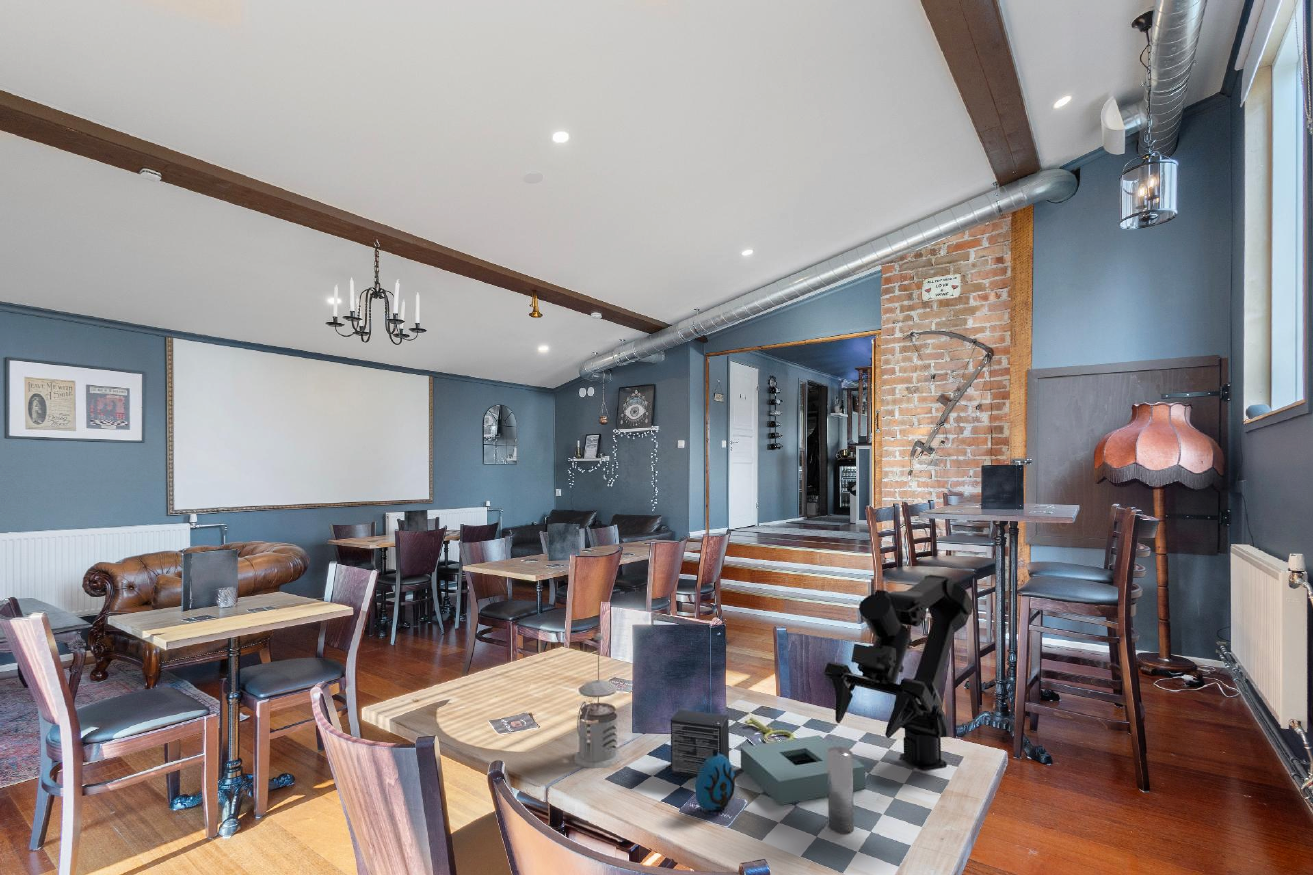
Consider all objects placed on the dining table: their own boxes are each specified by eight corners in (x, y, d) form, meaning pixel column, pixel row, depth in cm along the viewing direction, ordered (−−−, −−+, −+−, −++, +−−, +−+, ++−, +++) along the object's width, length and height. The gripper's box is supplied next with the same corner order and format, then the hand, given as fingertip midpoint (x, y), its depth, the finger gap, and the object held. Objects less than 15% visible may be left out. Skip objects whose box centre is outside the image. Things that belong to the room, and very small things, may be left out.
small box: (730, 768, 126) (730, 713, 127) (723, 783, 120) (722, 725, 121) (679, 760, 130) (679, 707, 130) (669, 774, 124) (669, 718, 124)
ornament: (706, 822, 107) (706, 760, 107) (689, 810, 110) (688, 751, 111) (742, 807, 111) (742, 748, 112) (724, 796, 115) (724, 739, 116)
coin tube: (844, 818, 108) (842, 745, 108) (859, 831, 104) (857, 755, 105) (823, 822, 106) (822, 748, 107) (838, 835, 103) (836, 758, 103)
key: (750, 725, 149) (750, 716, 149) (798, 740, 141) (797, 730, 141) (732, 734, 144) (732, 724, 144) (781, 750, 135) (780, 740, 136)
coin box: (819, 754, 132) (819, 735, 132) (865, 788, 118) (865, 766, 118) (740, 768, 126) (740, 747, 126) (779, 804, 112) (779, 781, 112)
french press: (630, 751, 134) (630, 630, 135) (602, 775, 123) (603, 643, 125) (589, 743, 138) (590, 625, 139) (559, 765, 127) (560, 638, 129)
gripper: (827, 618, 123) (796, 690, 114) (925, 635, 110) (899, 718, 101) (847, 651, 128) (820, 723, 119) (944, 671, 115) (920, 754, 106)
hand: (861, 729), depth 111 cm, fingers open, 9 cm apart
